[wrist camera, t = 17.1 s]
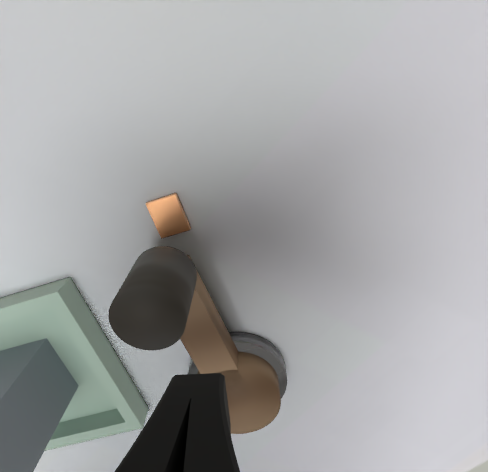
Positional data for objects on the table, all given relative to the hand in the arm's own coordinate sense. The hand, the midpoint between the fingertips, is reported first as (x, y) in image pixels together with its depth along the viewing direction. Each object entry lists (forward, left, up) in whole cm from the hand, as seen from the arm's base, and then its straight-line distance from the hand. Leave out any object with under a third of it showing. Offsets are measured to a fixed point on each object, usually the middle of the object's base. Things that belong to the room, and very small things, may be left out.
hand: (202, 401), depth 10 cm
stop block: (-5, +14, -10) cm, 18 cm away
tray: (-5, +14, -10) cm, 18 cm away
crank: (-5, +2, -9) cm, 11 cm away
